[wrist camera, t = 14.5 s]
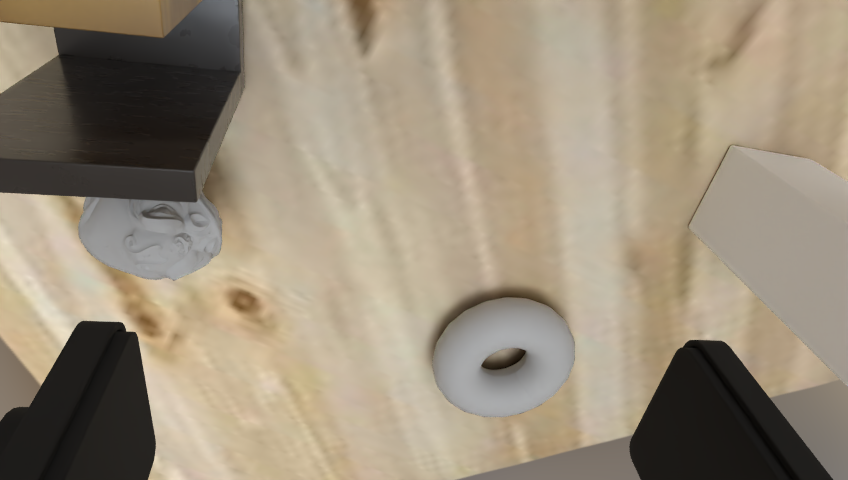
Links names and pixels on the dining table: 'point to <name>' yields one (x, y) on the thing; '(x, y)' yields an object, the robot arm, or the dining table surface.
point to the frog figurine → (151, 235)
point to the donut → (495, 331)
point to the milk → (785, 242)
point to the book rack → (123, 98)
